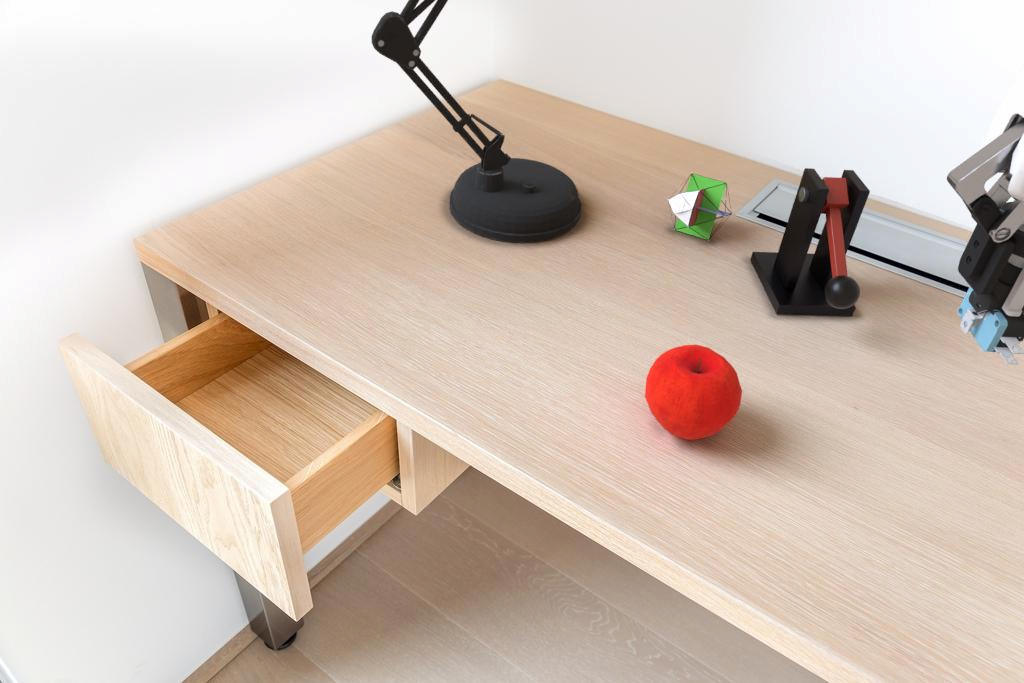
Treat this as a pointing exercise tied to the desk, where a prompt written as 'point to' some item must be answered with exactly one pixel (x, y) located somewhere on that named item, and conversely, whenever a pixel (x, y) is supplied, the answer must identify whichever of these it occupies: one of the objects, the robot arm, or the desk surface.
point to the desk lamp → (484, 154)
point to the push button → (999, 306)
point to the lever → (838, 247)
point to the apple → (692, 391)
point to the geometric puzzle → (699, 206)
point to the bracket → (792, 269)
